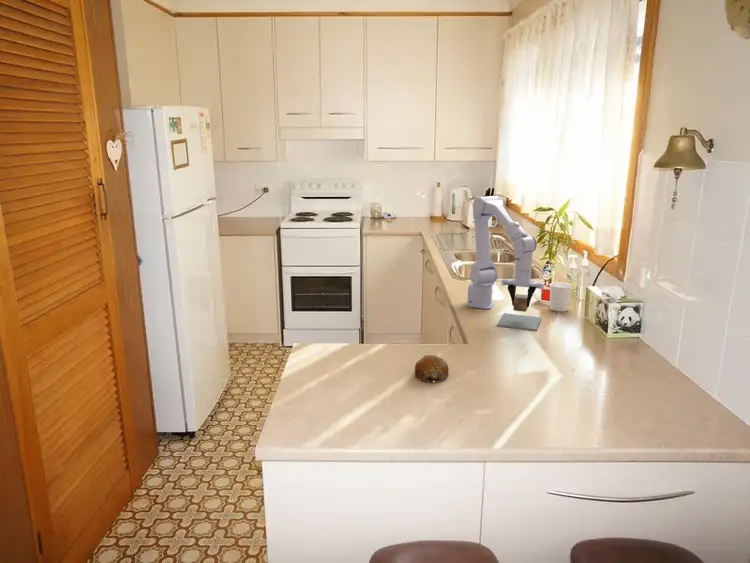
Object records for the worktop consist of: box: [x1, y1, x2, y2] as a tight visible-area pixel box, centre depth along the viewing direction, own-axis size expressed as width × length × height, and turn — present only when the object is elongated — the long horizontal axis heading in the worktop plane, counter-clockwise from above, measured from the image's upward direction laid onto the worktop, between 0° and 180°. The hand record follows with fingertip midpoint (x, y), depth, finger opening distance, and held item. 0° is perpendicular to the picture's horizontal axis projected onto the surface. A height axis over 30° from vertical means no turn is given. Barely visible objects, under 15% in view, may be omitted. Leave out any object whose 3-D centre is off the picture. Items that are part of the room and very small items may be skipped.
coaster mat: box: [496, 312, 542, 332], centre depth 209 cm, size 14×14×1 cm
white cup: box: [549, 281, 572, 312], centre depth 223 cm, size 8×8×10 cm
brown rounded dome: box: [414, 354, 450, 383], centre depth 165 cm, size 10×10×8 cm
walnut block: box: [513, 293, 529, 313], centre depth 207 cm, size 4×4×5 cm
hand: (520, 305), depth 207 cm, fingers closed on walnut block, 4 cm apart
